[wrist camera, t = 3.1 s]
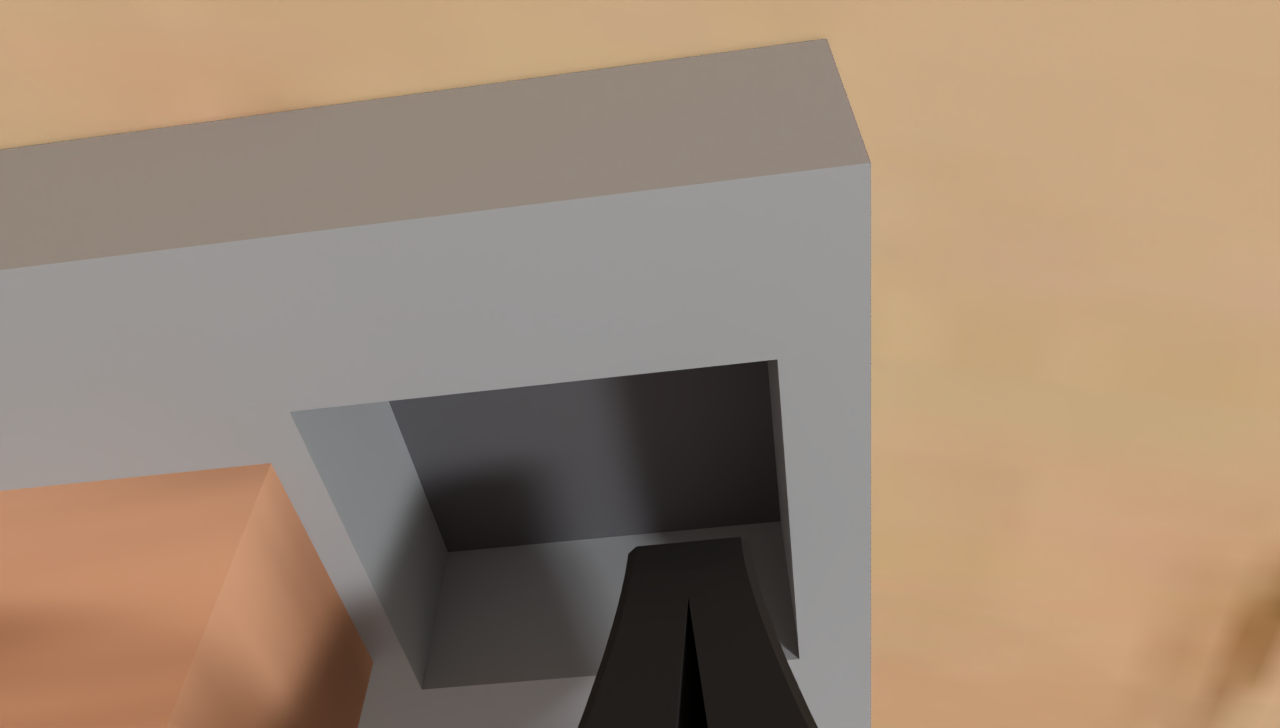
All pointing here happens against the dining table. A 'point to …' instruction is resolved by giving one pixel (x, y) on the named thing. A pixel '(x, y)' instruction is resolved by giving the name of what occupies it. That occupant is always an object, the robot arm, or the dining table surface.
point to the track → (481, 354)
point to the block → (171, 608)
